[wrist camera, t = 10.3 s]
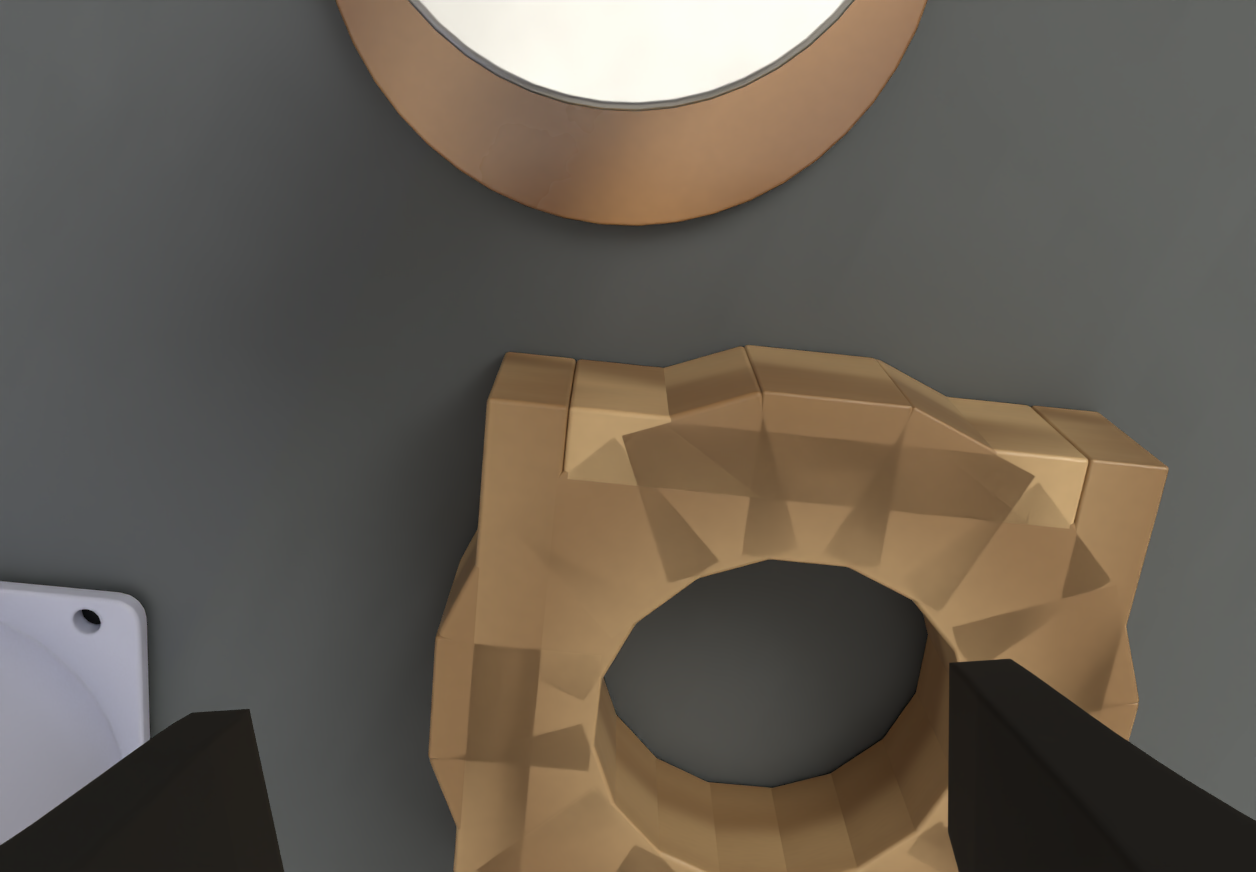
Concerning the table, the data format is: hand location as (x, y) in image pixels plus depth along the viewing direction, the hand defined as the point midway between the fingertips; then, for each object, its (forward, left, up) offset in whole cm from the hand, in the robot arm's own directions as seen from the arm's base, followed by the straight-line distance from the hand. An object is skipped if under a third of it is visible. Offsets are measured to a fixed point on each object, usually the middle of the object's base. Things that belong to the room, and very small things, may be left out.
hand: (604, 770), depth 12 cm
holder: (+3, -4, -10) cm, 12 cm away
